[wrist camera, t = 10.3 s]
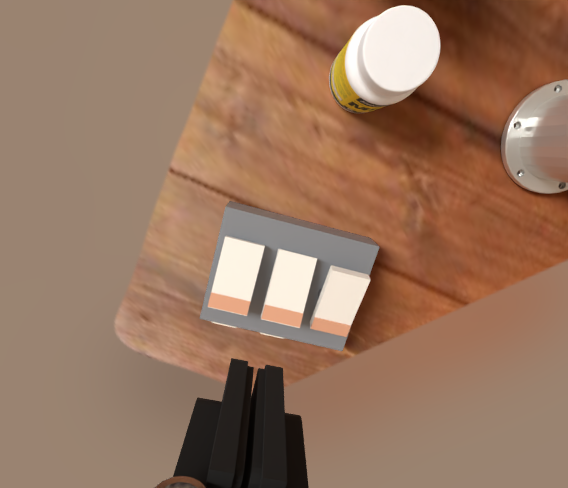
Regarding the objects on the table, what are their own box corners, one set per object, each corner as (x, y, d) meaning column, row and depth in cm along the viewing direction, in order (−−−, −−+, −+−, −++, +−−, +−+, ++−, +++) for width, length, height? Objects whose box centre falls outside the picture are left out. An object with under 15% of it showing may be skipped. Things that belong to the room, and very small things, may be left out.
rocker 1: (264, 245, 39) (264, 246, 38) (247, 312, 40) (246, 316, 39) (226, 235, 39) (225, 236, 38) (209, 303, 40) (207, 307, 38)
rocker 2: (315, 257, 40) (317, 258, 39) (297, 325, 40) (299, 328, 39) (278, 248, 40) (279, 249, 39) (260, 316, 40) (261, 319, 39)
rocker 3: (368, 274, 39) (370, 280, 38) (344, 330, 43) (346, 337, 41) (330, 265, 39) (332, 270, 38) (309, 322, 42) (310, 329, 41)
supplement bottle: (334, 120, 40) (362, 110, 28) (322, 52, 38) (345, 8, 26) (397, 105, 40) (453, 87, 28) (388, 36, 38) (443, -17, 26)
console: (370, 238, 44) (382, 249, 39) (336, 336, 48) (343, 357, 43) (229, 201, 42) (224, 208, 38) (205, 305, 46) (197, 324, 41)
